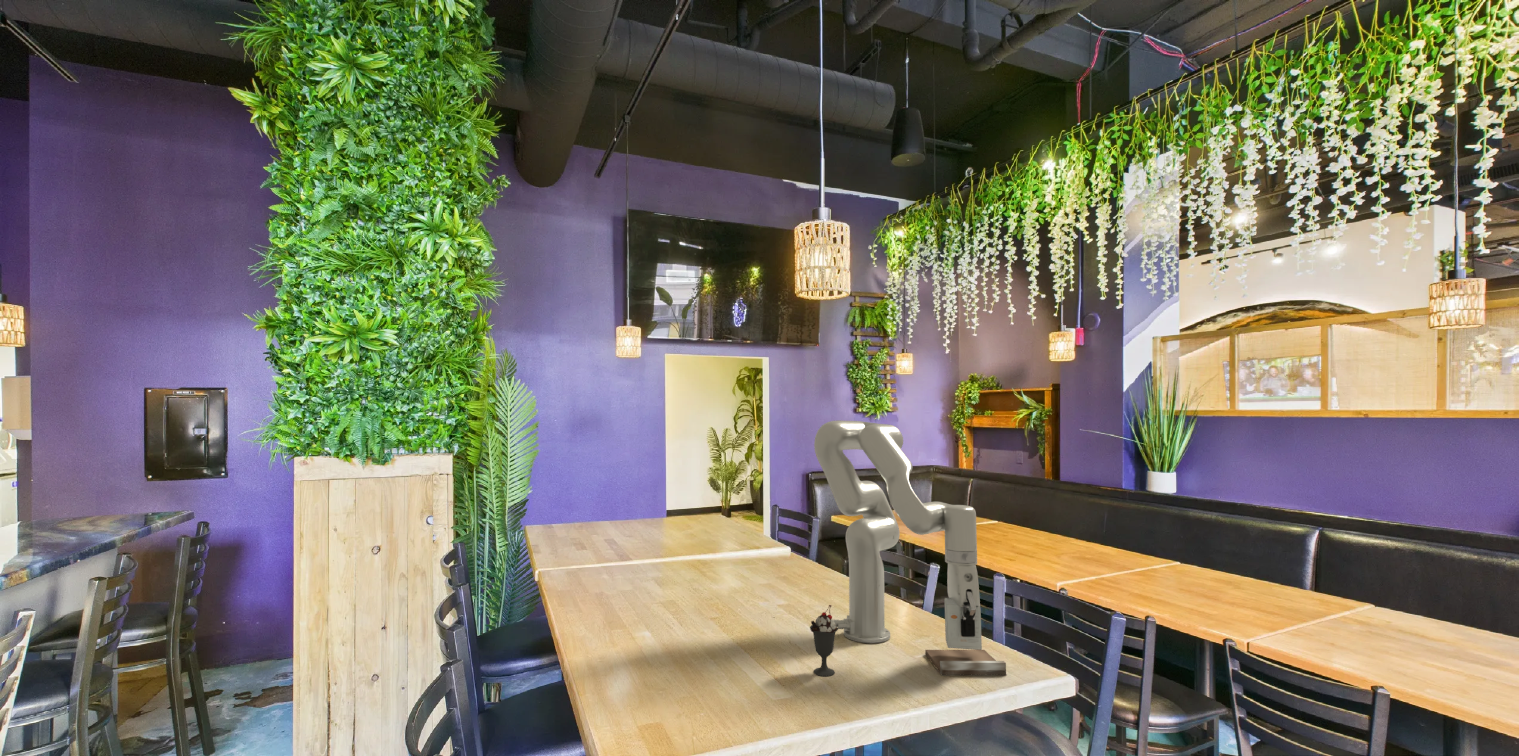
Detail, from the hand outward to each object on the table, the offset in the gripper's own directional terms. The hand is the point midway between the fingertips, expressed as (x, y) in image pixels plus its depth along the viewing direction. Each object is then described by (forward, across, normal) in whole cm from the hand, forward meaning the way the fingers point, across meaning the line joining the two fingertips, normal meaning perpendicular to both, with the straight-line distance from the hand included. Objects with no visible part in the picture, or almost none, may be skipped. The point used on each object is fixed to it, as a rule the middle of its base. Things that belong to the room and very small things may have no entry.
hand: (962, 630), depth 152 cm
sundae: (+8, -5, +35) cm, 36 cm away
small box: (+4, 0, 0) cm, 4 cm away
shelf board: (+8, -1, 0) cm, 8 cm away
